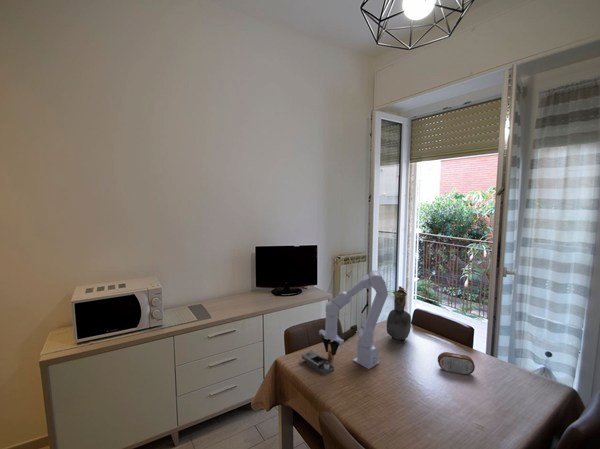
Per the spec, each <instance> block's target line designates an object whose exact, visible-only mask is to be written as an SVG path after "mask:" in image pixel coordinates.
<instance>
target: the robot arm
mask: <svg viewBox="0 0 600 449" xmlns="http://www.w3.org/2000/svg"><path fill="white" fill-rule="evenodd" d="M364 289H369V290H370V289H373V290H374V291H375V296H374V299H373V301H372V303H371V306H370V308H369V311H368V313H367V316H366V318H365V321H364V322H363V323H362V326H361V327H360V328H358V329H357V334H358V338H359V339H358V340H357V347H356V357H355V358H353V359H352V361H353V362H355V363H357V364H359V365H360V366H362V367H364V368H366V369H368V370H370V369H372V368H373V367H376V365H378V364H380V362H379V349H378V348H377V347H375V345H374V339H373V338H374V336H375V328H376V325H377V323H378V321H379V318H380V316H381V313H382V311H383V308H384V306H385V303H386V301H387V297H388V294H389V293H388V289H387V284H386V281H385V279H384V278H383V275H381V273H380V272H379V271H377V270H371V271H369V272H368V273H367V274H365V275H363V277H362V278H360V279H359V280H358V281H357V282H356V283H355V284H354V285H352V287H350V288H349V289H348V290H347V291H342V292H338V293H337V296H335V297H334V298H332V299H330V300H329V301H327V303H326V304H325V327H324V328H325V329H320V330H318V332H319V335H320V336H321V335H322V337H321V342H322V343H323V346H324V349H325V353H328V342H330V345H331V351H332V356H334V357H335V356H336V355H337V351H338V348H339V346H343V345H344V343H345V340H343V339H341V338H340V337H339V335H338V313H339V311H340V310H342V309H343V308H344V307H346V306H347V305H348V304H349V303H350V302H351V300H352V299H351V298H353V297H354V296H355V295H356V294H358V293H359V292H361V291H362V290H364Z"/></svg>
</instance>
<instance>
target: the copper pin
mask: <svg viewBox="0 0 600 449" xmlns="http://www.w3.org/2000/svg"><path fill="white" fill-rule="evenodd" d="M334 357H335V355H334V356H332V351H331V345H330V342H328V352H327V360H328V361H334V360H335V358H334Z"/></svg>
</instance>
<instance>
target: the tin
mask: <svg viewBox="0 0 600 449" xmlns="http://www.w3.org/2000/svg"><path fill="white" fill-rule="evenodd" d="M437 362H438V366H439V367H440V369H441V370H443V371H444V372H448V373H453V374H458V375H464V376H468V375H471V374H473V373H474V371H475V368H476V367H475V362H474V360H473V359H472V358H471V357H470V356H468V355H465V354H459V353H454V352H453V353H452V352H448V351H444V352H440V353H439V355H438V357H437Z"/></svg>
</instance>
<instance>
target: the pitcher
mask: <svg viewBox="0 0 600 449" xmlns="http://www.w3.org/2000/svg"><path fill="white" fill-rule="evenodd" d="M392 293H393V294H394V309H392V310H390V312H389V314H388V316H387V318H386V332H387V334H388V336H390V337H391V340H392V342H393V343H397V344H402V343H405V342H406V339H407V338H408V337H409V335H410V333H411V326H412V316H411V314H410V313H409V312H408V311H406V310H405V308H406V303H407V301H406V300H407V298H406V297H407V295H408V293H407V291H406V290H405V288H404V287H402V286H398V289H397V290H395V291H393V292H392Z"/></svg>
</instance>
